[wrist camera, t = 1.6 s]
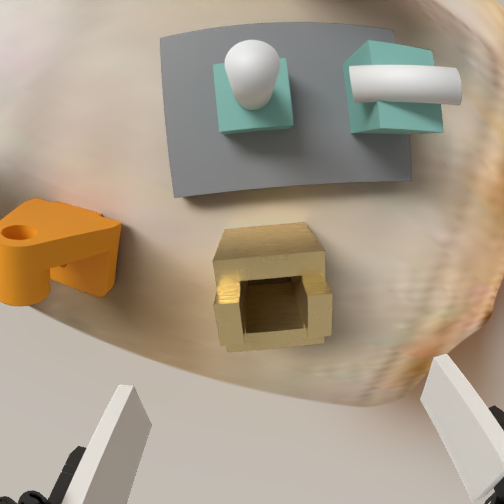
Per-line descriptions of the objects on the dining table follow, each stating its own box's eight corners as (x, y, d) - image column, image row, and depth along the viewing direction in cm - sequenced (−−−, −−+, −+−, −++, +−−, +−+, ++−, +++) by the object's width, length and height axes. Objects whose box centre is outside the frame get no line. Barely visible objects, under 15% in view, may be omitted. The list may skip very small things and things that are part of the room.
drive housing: (180, 194, 25) (124, 227, 14) (166, 45, 21) (111, -15, 10) (403, 178, 25) (488, 200, 13) (386, 37, 20) (455, -13, 9)
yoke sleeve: (233, 301, 28) (225, 369, 19) (224, 229, 26) (208, 272, 17) (307, 294, 28) (330, 359, 19) (304, 222, 26) (332, 261, 17)
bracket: (38, 259, 27) (-33, 305, 16) (41, 196, 25) (-42, 224, 14) (116, 288, 28) (56, 357, 17) (125, 220, 26) (51, 265, 15)
